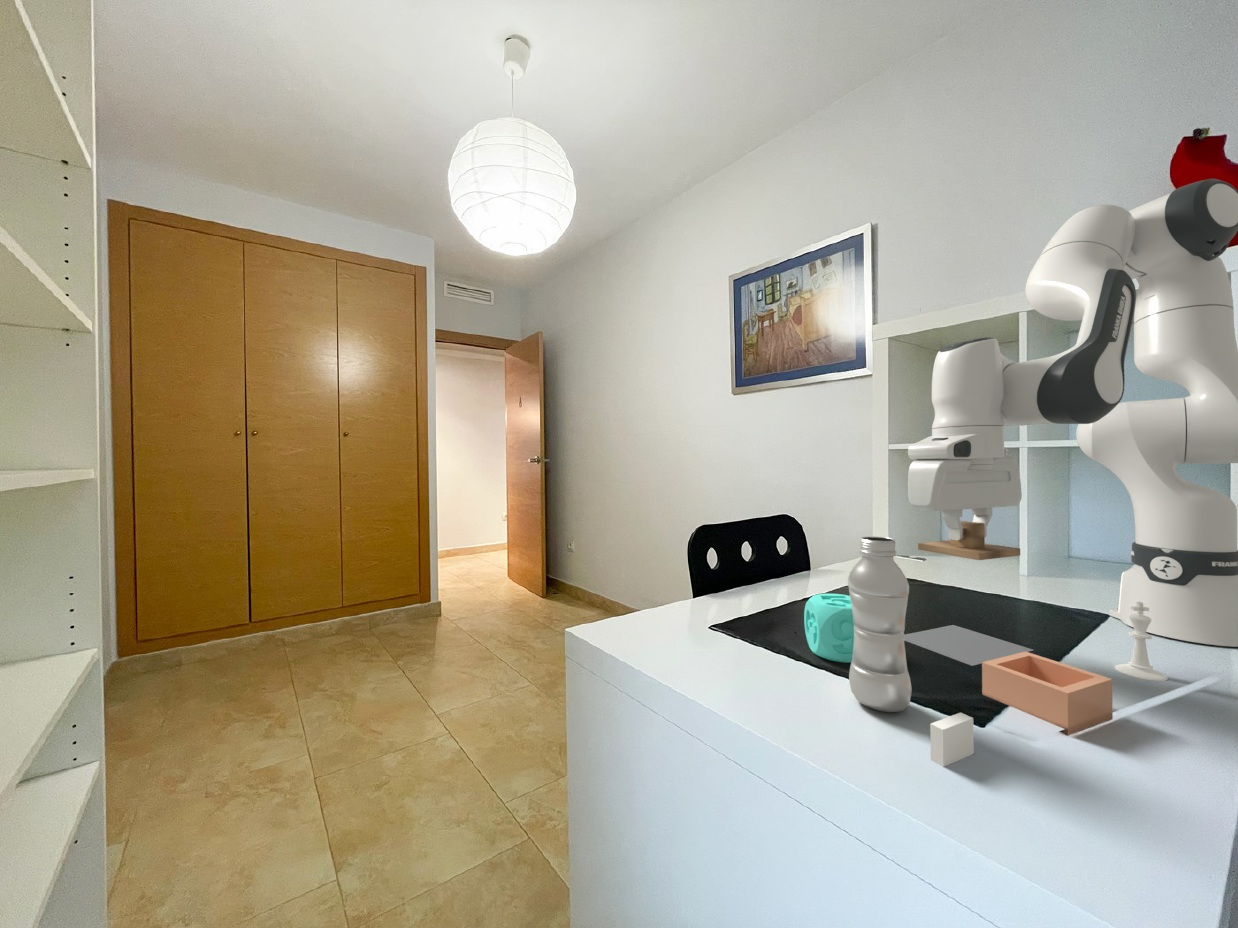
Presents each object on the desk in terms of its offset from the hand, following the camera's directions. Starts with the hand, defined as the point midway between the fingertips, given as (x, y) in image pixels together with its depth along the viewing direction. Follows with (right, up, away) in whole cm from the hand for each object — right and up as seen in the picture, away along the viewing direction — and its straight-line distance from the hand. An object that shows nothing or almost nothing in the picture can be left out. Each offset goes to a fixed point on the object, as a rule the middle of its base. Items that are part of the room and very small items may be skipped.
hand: (967, 538), depth 73 cm
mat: (+1, -17, +2) cm, 17 cm away
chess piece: (+17, -17, -8) cm, 26 cm away
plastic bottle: (-21, -18, -15) cm, 32 cm away
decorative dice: (-19, -18, +1) cm, 26 cm away
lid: (0, -2, 0) cm, 2 cm away
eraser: (-20, -18, -25) cm, 36 cm away
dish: (-3, -18, -16) cm, 24 cm away
